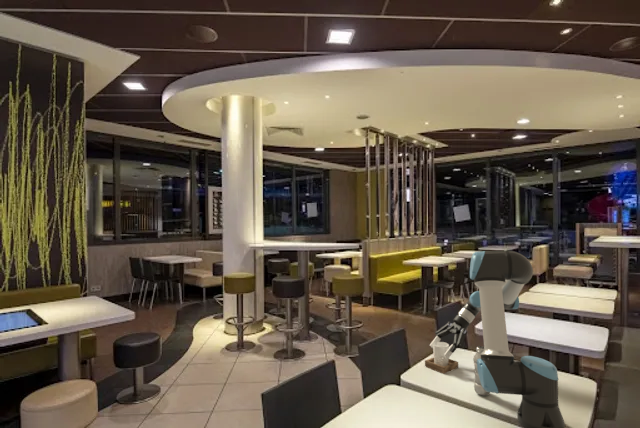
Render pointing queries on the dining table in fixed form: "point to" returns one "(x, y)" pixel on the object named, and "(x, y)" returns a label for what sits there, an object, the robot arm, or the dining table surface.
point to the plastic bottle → (477, 383)
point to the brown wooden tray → (451, 366)
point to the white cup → (440, 353)
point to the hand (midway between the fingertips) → (438, 351)
